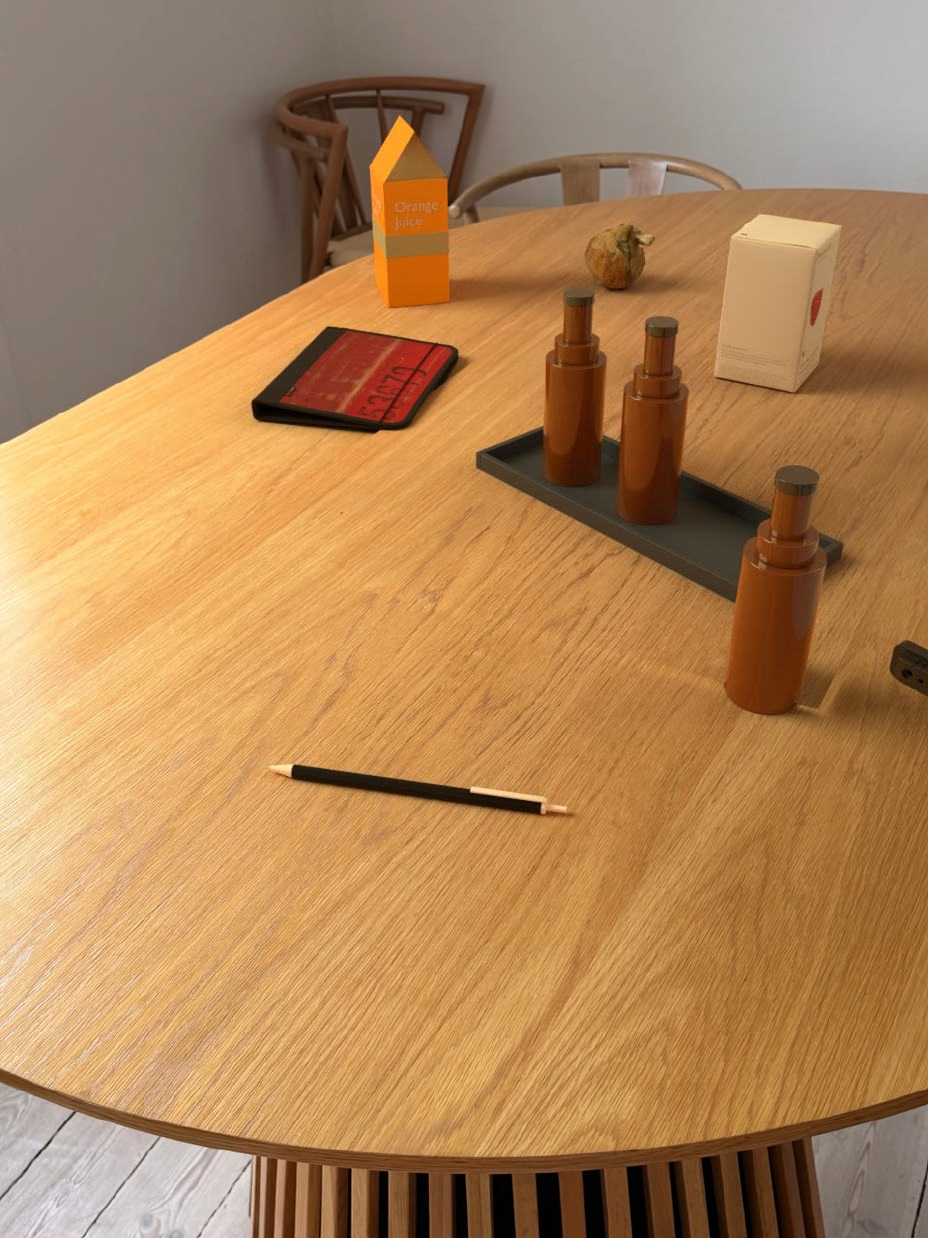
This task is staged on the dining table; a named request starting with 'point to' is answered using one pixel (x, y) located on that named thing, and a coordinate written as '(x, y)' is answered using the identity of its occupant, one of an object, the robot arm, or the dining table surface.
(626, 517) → the bottle
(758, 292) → the white product box
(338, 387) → the binder
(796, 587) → the bottle
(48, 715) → the dining table surface
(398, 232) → the orange juice
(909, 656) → the robot arm
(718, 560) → the tray
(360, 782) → the pen
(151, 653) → the dining table surface
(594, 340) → the bottle
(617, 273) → the onion
